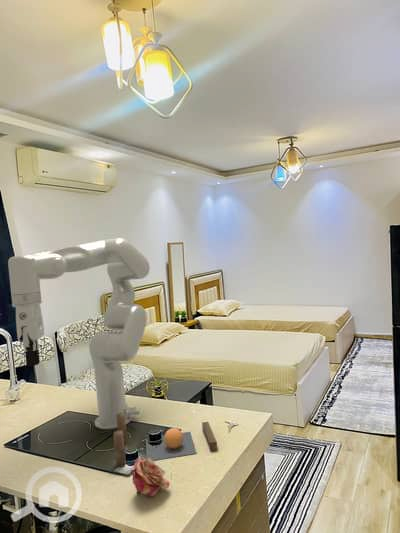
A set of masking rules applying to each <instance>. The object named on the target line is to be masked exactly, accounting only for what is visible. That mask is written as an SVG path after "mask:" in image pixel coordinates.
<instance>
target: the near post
mask: <svg viewBox="0 0 400 533" xmlns="http://www.w3.org/2000/svg"><path fill="white" fill-rule="evenodd" d="M113 443H114V454H115V464H116V465H115V466H116V468H124V467H125V466H126V465H127V463H126V462H127V461H126V460H127V459H126V450H125V445H124V437H123V431H116V430H115V431H114V432H113ZM123 466H124V467H123Z"/></svg>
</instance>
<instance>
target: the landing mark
mask: <svg viewBox="0 0 400 533" xmlns="http://www.w3.org/2000/svg"><path fill="white" fill-rule="evenodd" d="M182 434H183V442H182V444H181V446H180V447H178V448H176V449H171V448H169V447H168V446H167V445H166V444H165V441H164V436H165V434H164V435H162V436H163V442H162V443H161V444H160V445H157V446H158V447H157V446H155V445H154V446H152V445H150V444H148V442H147V438H148V437H146V438H145V452H146V453H145V454H146V458H147V459H149V458H150V459H151V460H152V462H153V460H154V462H155V461H159V460H168V459H172V458H179V457H186V456H191V455H196V454H197V450H196V446H195V443H194V439H193V437H192V433H191V431H185V432H182ZM156 447H157V448H156ZM154 449H155V450H154Z"/></svg>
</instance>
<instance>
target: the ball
mask: <svg viewBox="0 0 400 533" xmlns="http://www.w3.org/2000/svg"><path fill="white" fill-rule="evenodd" d="M182 433H183V432H182V431H181V429H178V428H176V427H172V428H169V429H168V430H166V432H165V434H164V435H165V436H164V435H163V436H164V441H165V444H166V445H167V446H168V447H169V448H171V449H176V448H178V447H180V446H181V444H182V442H183V434H182Z"/></svg>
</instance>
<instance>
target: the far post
mask: <svg viewBox="0 0 400 533" xmlns="http://www.w3.org/2000/svg"><path fill="white" fill-rule="evenodd" d="M116 420H117V428H116V429H117V431H123V437H124V446H125V445H127V444H128V437H127V426H126V425H127V424H126V423H125V414H124V413H119V414H117V415H116Z"/></svg>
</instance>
